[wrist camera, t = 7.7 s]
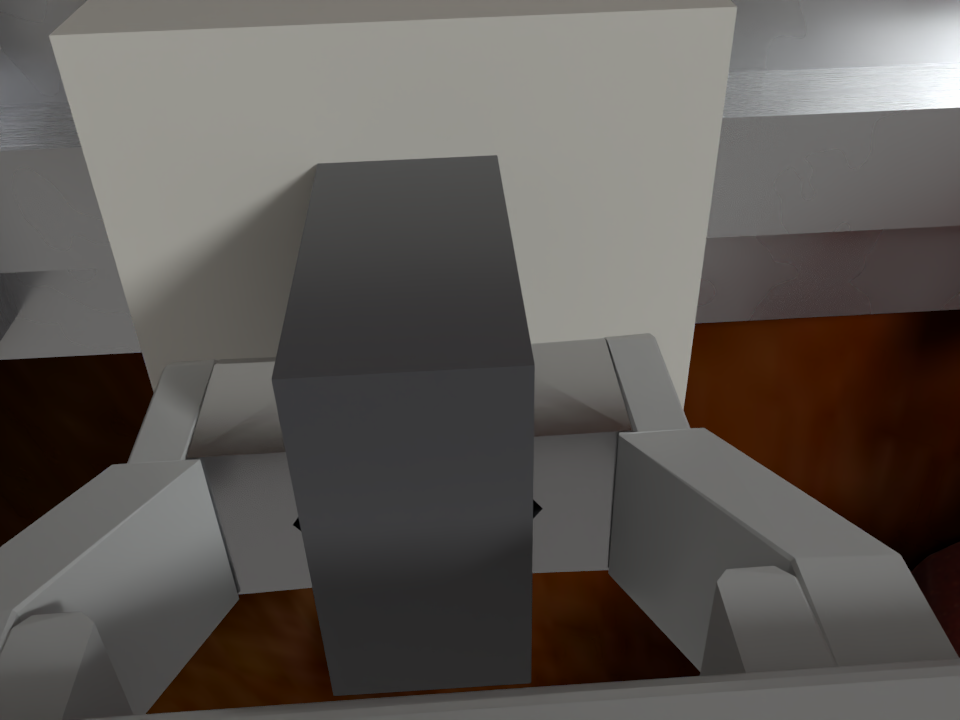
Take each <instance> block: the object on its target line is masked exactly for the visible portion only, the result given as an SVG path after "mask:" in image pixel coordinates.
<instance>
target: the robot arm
mask: <svg viewBox="0 0 960 720" xmlns="http://www.w3.org/2000/svg"><path fill="white" fill-rule="evenodd" d="M531 347H532V353H533V358H534V364H535V388H534V471H533V553H532V573H544V572H569V571H594V570H609V575H610V576H611V577H612V578H613V579H614V580H615V581H616V582H617V583H618V584H619V585H620V586H621V588H622V589H623V590H624V591H625V592H626V593H627V594H628V595H629V596H630V597H631V598H632V599H633V600H634V601H635V602H636V604H637V605H638V606H639V607H640V608H641V609H642V610H643V611H644V612H645V613H646V614H647V615H648V616H649V617H650V619H651V620H652V621H653V622H654V623H655V624H656V625H657V626H658V627H659V628H660V629H661V630H662V631H663V632H664V634H665V635H666V636H667V637H668V638H669V639H670V640H671V641H672V642H673V643H674V644H675V645H676V646H677V647H678V649H679V650H680V651H681V652H682V653H683V654H684V655H685V656H686V657H687V658H688V659H689V660H690V661H691V662H692V664H693V665H694V666H695V667H696V668H697V669H698V670H699V671H700V676H691V677H677V678H662V679H647V680H632V681H618V682H603V683H588V684H574V685H559V686H544V687H529V688H515V689H501V690H487V691H472V692H458V693H444V694H429V695H415V696H401V697H387V698H372V699H358V700H344V701H329V702H315V703H301V704H287V705H272V706H258V707H244V708H229V709H215V710H201V711H187V712H172V713H158V714H146V712H147V711H148V710H149V709H150V708H151V706H152V705H153V704H154V703H155V701H156V700H157V699H158V698H159V697H160V695H161V694H162V693H163V692H164V690H165V689H166V688H167V687H168V686H169V684H170V683H171V682H172V681H173V679H174V678H175V677H176V676H177V674H178V673H179V672H180V671H181V670H182V668H183V667H184V666H185V665H186V663H187V662H188V661H189V660H190V659H191V657H192V656H193V655H194V654H195V652H196V651H197V650H198V649H199V648H200V646H201V645H202V644H203V643H204V641H205V640H206V639H207V638H208V636H209V635H210V634H211V633H212V632H213V630H214V629H215V628H216V627H217V625H218V624H219V623H220V622H221V621H222V619H223V618H224V617H225V616H226V614H227V613H228V612H229V611H230V610H231V608H232V607H233V606H234V605H235V603H236V602H237V601H238V600H239V597H238V594H248V593H259V592H270V591H281V590H291V589H302V588H312V583H311V578H310V573H309V568H308V563H307V558H306V553H305V548H304V543H303V537H302V532H301V527H300V522H299V517H298V512H297V507H296V502H295V497H294V492H293V487H292V482H291V477H290V472H289V467H288V461H287V456H286V451H285V446H284V441H283V436H282V431H281V426H280V421H279V416H278V411H277V406H276V401H275V396H274V390H273V385H272V380H271V379H272V374H273V369H274V365H275V360H276V357H267V358H241V359H220V360H219V361H217V360H215V359H213V360H197V361H181V362H171V363H170V364H168V365H167V366H166V367H165V368H164V369H163V371H162V373H161V376H160V378H159V381H158V384H157V386H156V389H155V391H154V394H153V397H152V399H151V402H150V405H149V407H148V410H147V412H146V415H145V418H144V420H143V423H142V425H141V428H140V431H139V433H138V436H137V438H136V441H135V444H134V446H133V449H132V451H131V454H130V457H129V459H128V462H127V464H114V465H111V466H110V467H108V468H107V469H106V470H104V471H103V472H102V473H100V474H99V475H98V476H96V477H95V478H93V479H92V480H91V481H89V482H88V483H87V484H85V485H84V486H83V487H81V488H80V489H79V490H77V491H76V492H74V493H73V494H72V495H70V496H69V497H68V498H66V499H65V500H64V501H62V502H61V503H60V504H58V505H57V506H55V507H54V508H53V509H51V510H50V511H49V512H47V513H46V514H45V515H43V516H42V517H41V518H39V519H38V520H36V521H35V522H34V523H32V524H31V525H30V526H28V527H27V528H26V529H24V530H23V531H22V532H20V533H19V534H17V535H16V536H15V537H13V538H12V539H11V540H9V541H8V542H7V543H5V544H4V545H3V546H1V547H0V720H960V658H959V657H958V655H957V653H956V651H955V650H954V648H953V646H952V644H951V643H950V641H949V639H948V637H947V636H946V634H945V632H944V630H943V629H942V627H941V625H940V623H939V621H938V620H937V618H936V616H935V614H934V613H933V611H932V609H931V607H930V606H929V604H928V602H927V600H926V599H925V597H924V595H923V593H922V591H921V590H920V588H919V586H918V584H917V583H916V581H915V579H914V577H913V576H912V574H911V572H910V570H909V569H908V567H907V565H906V563H905V561H904V560H903V558H902V556H901V555H900V554H899V553H897V552H896V551H894V550H892V549H891V548H889V547H888V546H886V545H885V544H883V543H882V542H880V541H879V540H877V539H875V538H874V537H872V536H871V535H869V534H868V533H866V532H865V531H863V530H862V529H860V528H858V527H857V526H855V525H854V524H852V523H851V522H849V521H848V520H846V519H845V518H843V517H841V516H840V515H838V514H837V513H835V512H834V511H832V510H831V509H829V508H827V507H826V506H824V505H823V504H821V503H820V502H818V501H817V500H815V499H814V498H812V497H810V496H809V495H807V494H806V493H804V492H803V491H801V490H800V489H798V488H797V487H795V486H793V485H792V484H790V483H789V482H787V481H786V480H784V479H783V478H781V477H780V476H778V475H776V474H775V473H773V472H772V471H770V470H769V469H767V468H766V467H764V466H762V465H761V464H759V463H758V462H756V461H755V460H753V459H752V458H750V457H749V456H747V455H745V454H744V453H742V452H741V451H739V450H738V449H736V448H735V447H733V446H732V445H730V444H728V443H727V442H725V441H724V440H722V439H721V438H719V437H718V436H716V435H714V434H713V433H711V432H710V431H708V430H707V429H705V428H692V429H690V426H689V424H688V421H687V419H686V416H685V413H684V411H683V408H682V406H681V403H680V400H679V398H678V395H677V393H676V390H675V387H674V385H673V382H672V380H671V377H670V374H669V372H668V369H667V367H666V364H665V362H664V359H663V356H662V354H661V351H660V349H659V346H658V343H657V341H656V338H655V337H654V336H653V335H651V334H650V333H645V334H634V335H623V336H612V337H604V338H600V339H587V340H574V341H560V342H547V343H533V344H531Z"/></svg>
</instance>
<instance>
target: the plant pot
mask: <svg viewBox="0 0 960 720" xmlns="http://www.w3.org/2000/svg"><path fill="white" fill-rule="evenodd" d="M911 574H912V576H913V577H914V579H915V581H916V583H917V584H918V586H919V588H920V590H921V591H922V593H923V595H924V597H925V599H926V600H927V602H928V604H929V606H930V607H931V609H932V611H933V613H934V614H935V616H936V618H937V620H938V621H939V623H940V625H941V627H942V629H943V630H944V632H945V634H946V636H947V637H948V639H949V641H950V643H951V644H952V646H953V648H954V650H955V651H956V653H957V655H958V657H959V658H960V541H959V542H957V543H955V544H953V545H951V546H948V547H946V548H944V549H942V550H940V551H938V552H935V553H933V554H931V555H929V556H928V557H926V558H925V559H924V560H923V561H921V562H920V563H919V564H918V565H917V566H916V567H915V568H914V569H913V571H912V572H911Z"/></svg>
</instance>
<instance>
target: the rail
mask: <svg viewBox="0 0 960 720" xmlns="http://www.w3.org/2000/svg"><path fill="white" fill-rule="evenodd" d="M86 1H87V0H0V360H7V359H26V358H45V357H64V356H83V355H102V354H121V353H140V352H142V351H141V348H140V344H139V341H138V337H137V334H136V331H135V327H134V324H133V320H132V317H131V314H130V310H129V307H128V303H127V300H126V297H125V293H124V290H123V286H122V283H121V280H120V276H119V273H118V269H117V266H116V262H115V259H114V256H113V252H112V249H111V245H110V242H109V239H108V235H107V232H106V228H105V225H104V222H103V218H102V215H101V211H100V208H99V205H98V201H97V198H96V194H95V191H94V188H93V184H92V181H91V177H90V174H89V171H88V167H87V164H86V160H85V157H84V154H83V150H82V147H81V143H80V140H79V137H78V133H77V130H76V126H75V123H74V120H73V116H72V113H71V109H70V106H69V103H68V99H67V96H66V92H65V89H64V86H63V82H62V79H61V75H60V72H59V69H58V65H57V62H56V58H55V55H54V52H53V48H52V45H51V41H50V38H49V35H50V34H51V33H52V32H53V31H54V30H55V29H56V28H58V27H59V26H60V25H61V24H62V23H63V22H64V21H65V20H66V19H67V18H69V17H70V16H71V15H72V14H73V13H74V12H75V11H76V10H77V9H78V8H80V7H81V6H82V5H83V4H84V3H85V2H86ZM731 1H732V2H733V3H734V4H735V5H736V6H737V13H736V20H735V28H734V35H733V43H732V50H731V58H730V65H729V73H728V80H727V88H726V95H725V102H724V110H723V117H722V125H721V132H720V140H719V147H718V155H717V162H716V170H715V177H714V185H713V192H712V200H711V207H710V215H709V222H708V230H707V237H706V245H705V252H704V260H703V267H702V275H701V282H700V290H699V297H698V304H697V312H696V319H695V323H711V322H730V321H749V320H768V319H787V318H806V317H825V316H844V315H863V314H882V313H901V312H920V311H939V310H958V309H960V0H731Z"/></svg>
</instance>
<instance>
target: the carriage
mask: <svg viewBox="0 0 960 720" xmlns="http://www.w3.org/2000/svg"><path fill="white" fill-rule="evenodd" d="M736 13H737V6H736V5H735V4H734V3H733V2H732V1H731V0H87V1H86V2H85V3H84V4H83V5H82V6H81V7H80V8H78V9H77V10H76V11H75V12H74V13H73V14H72V15H71V16H70V17H69V18H67V19H66V20H65V21H64V22H63V23H62V24H61V25H60V26H59V27H58V28H56V29H55V30H54V31H53V32H52V33H51V34H50V35H49V38H50V41H51V45H52V48H53V52H54V55H55V58H56V62H57V65H58V69H59V72H60V75H61V79H62V82H63V86H64V89H65V92H66V96H67V99H68V103H69V106H70V109H71V113H72V116H73V120H74V123H75V126H76V130H77V133H78V137H79V140H80V143H81V147H82V150H83V154H84V157H85V160H86V164H87V167H88V171H89V174H90V177H91V181H92V184H93V188H94V191H95V194H96V198H97V201H98V205H99V208H100V211H101V215H102V218H103V222H104V225H105V228H106V232H107V235H108V239H109V242H110V245H111V249H112V252H113V256H114V259H115V262H116V266H117V269H118V273H119V276H120V280H121V283H122V286H123V290H124V293H125V297H126V300H127V303H128V307H129V310H130V314H131V317H132V320H133V324H134V327H135V331H136V334H137V337H138V341H139V344H140V348H141V351H142V354H143V358H144V361H145V365H146V368H147V371H148V375H149V378H150V382H151V385H152V388H153V392H154V391H155V389H156V386H157V384H158V381H159V378H160V376H161V373H162V371H163V369H164V368H165V367H166V366H167V365H168V364H170V363H171V362H181V361H197V360H213V359H215V360H217V361H219V360H220V359H241V358H267V357H276V360H275V365H274V369H273V374H272V379H271V380H272V385H273V390H274V396H275V401H276V406H277V411H278V416H279V421H280V426H281V431H282V436H283V441H284V446H285V451H286V456H287V461H288V467H289V472H290V477H291V482H292V487H293V492H294V497H295V502H296V507H297V512H298V517H299V522H300V527H301V532H302V537H303V543H304V548H305V553H306V558H307V563H308V568H309V573H310V578H311V583H312V588H313V593H314V598H315V603H316V608H317V614H318V619H319V624H320V629H321V634H322V639H323V644H324V649H325V654H326V659H327V664H328V669H329V674H330V679H331V684H332V690H333V695H334V696H339V695H354V694H370V693H385V692H401V691H416V690H431V689H447V688H462V687H478V686H493V685H509V684H524V683H531V636H532V553H533V471H534V388H535V364H534V358H533V353H532V347H531V344H533V343H547V342H560V341H574V340H587V339H600V338H604V337H612V336H623V335H634V334H645V333H650V334H651V335H653V336H654V337H655V338H656V341H657V343H658V346H659V349H660V351H661V354H662V356H663V359H664V362H665V364H666V367H667V369H668V372H669V374H670V377H671V380H672V382H673V385H674V387H675V390H676V393H677V395H678V398H679V400H680V403H681V406H682V408H683V409H684V402H685V394H686V387H687V379H688V372H689V364H690V357H691V349H692V342H693V334H694V327H695V319H696V312H697V304H698V297H699V290H700V282H701V275H702V267H703V260H704V252H705V245H706V237H707V230H708V222H709V215H710V207H711V200H712V192H713V185H714V177H715V170H716V162H717V155H718V147H719V140H720V132H721V125H722V117H723V110H724V102H725V95H726V88H727V80H728V73H729V65H730V58H731V50H732V43H733V35H734V28H735V20H736Z"/></svg>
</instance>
